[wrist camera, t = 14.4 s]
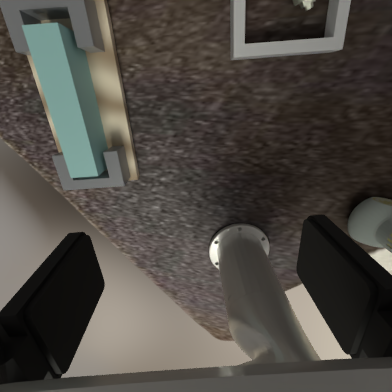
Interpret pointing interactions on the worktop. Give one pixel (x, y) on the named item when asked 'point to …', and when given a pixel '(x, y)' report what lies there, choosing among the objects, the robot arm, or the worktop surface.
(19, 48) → the grey slat holder
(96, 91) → the base board
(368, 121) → the worktop surface
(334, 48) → the parts tray
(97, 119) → the slat
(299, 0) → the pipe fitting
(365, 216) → the air freshener
